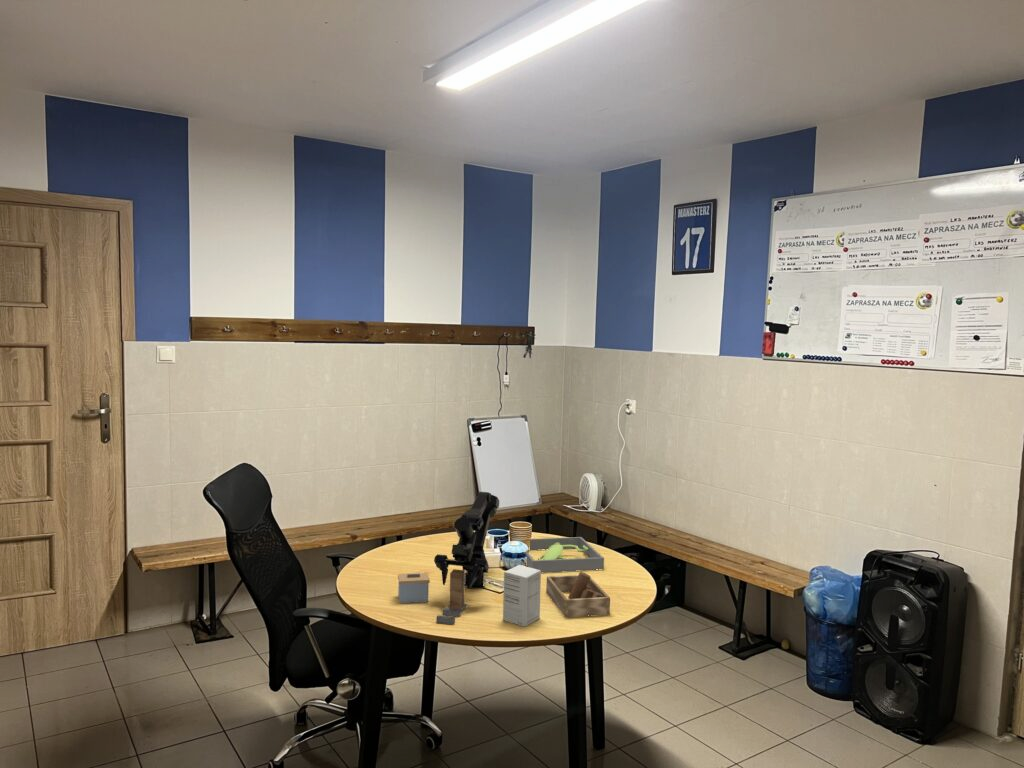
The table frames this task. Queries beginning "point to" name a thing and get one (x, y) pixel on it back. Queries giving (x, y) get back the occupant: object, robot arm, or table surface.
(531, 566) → the tray
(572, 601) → the block corral
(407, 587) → the toolbox
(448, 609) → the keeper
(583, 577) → the wooden block set
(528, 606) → the supplement box
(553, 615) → the table surface
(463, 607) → the pad
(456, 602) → the brown block
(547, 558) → the figurine
